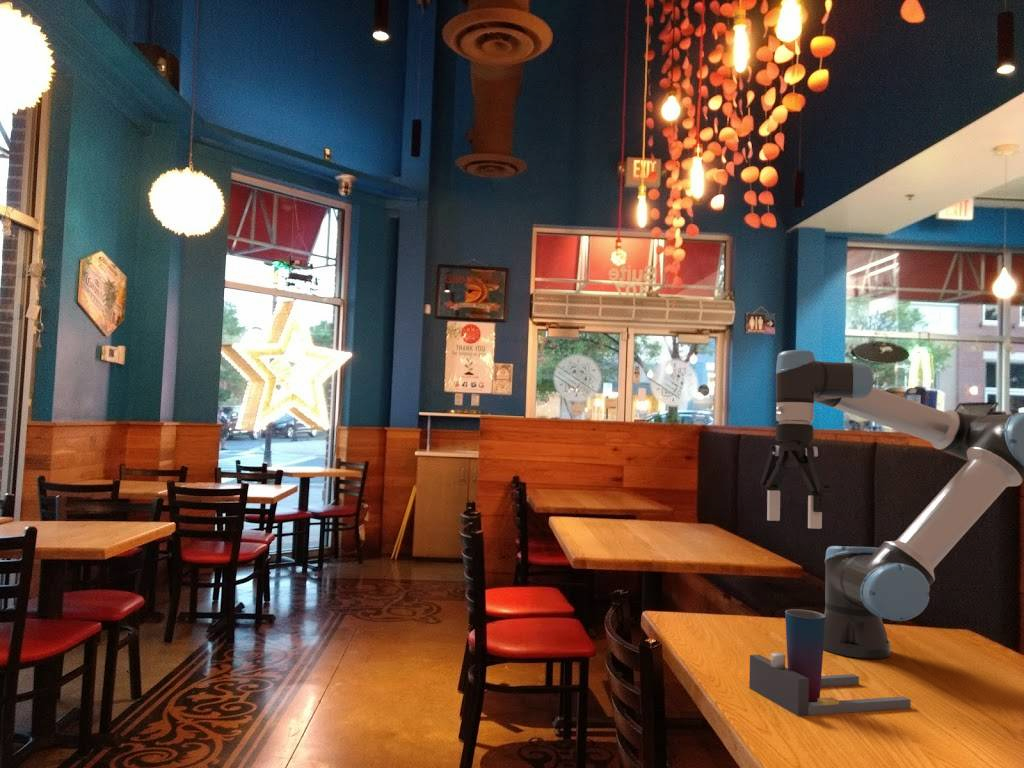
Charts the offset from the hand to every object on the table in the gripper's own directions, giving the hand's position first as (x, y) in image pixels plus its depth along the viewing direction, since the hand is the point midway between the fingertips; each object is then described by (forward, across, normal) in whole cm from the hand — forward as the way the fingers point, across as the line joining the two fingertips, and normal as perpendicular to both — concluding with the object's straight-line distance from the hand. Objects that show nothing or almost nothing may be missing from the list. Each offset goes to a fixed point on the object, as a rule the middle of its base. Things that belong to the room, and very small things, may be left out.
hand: (793, 524), depth 155 cm
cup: (+29, +19, -11) cm, 36 cm away
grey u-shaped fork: (+29, +19, -7) cm, 35 cm away
